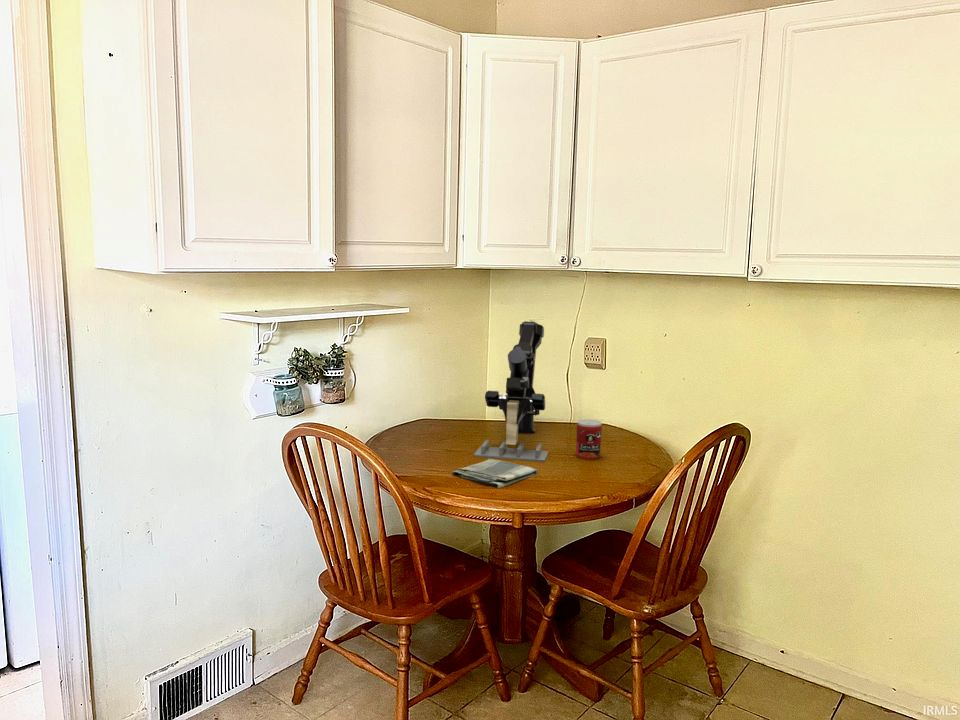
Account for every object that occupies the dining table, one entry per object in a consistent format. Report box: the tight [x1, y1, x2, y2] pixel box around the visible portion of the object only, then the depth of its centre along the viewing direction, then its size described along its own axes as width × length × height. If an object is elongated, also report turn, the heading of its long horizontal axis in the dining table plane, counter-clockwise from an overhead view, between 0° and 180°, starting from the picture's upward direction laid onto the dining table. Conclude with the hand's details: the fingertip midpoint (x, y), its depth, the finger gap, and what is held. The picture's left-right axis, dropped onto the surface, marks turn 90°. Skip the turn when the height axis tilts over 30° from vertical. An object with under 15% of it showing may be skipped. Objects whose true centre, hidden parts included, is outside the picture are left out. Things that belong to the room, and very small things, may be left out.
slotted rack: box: [473, 439, 549, 463], centre depth 227 cm, size 10×22×3 cm, turn 79°
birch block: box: [505, 400, 519, 446], centre depth 226 cm, size 4×3×13 cm, turn 169°
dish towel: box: [451, 458, 539, 489], centre depth 207 cm, size 19×18×3 cm
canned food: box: [575, 418, 603, 460], centre depth 227 cm, size 8×8×11 cm
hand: (511, 423), depth 224 cm, fingers closed on birch block, 3 cm apart
